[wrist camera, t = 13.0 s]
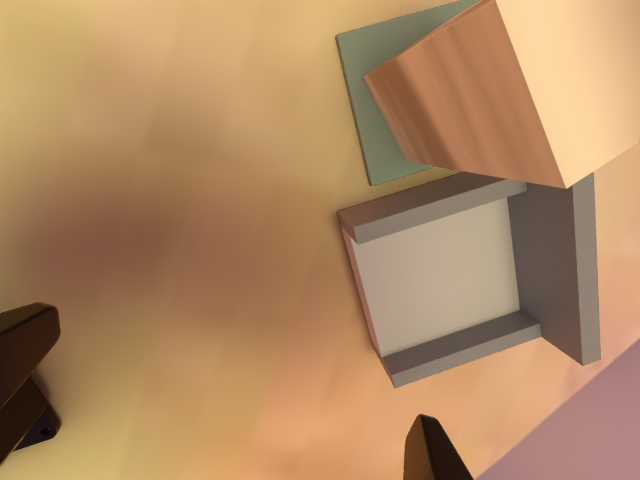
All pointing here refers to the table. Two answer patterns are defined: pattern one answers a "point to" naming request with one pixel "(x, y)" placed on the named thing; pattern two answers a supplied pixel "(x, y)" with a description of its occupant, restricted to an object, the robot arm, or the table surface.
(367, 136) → the mat
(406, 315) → the tray
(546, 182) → the birch block
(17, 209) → the table surface
